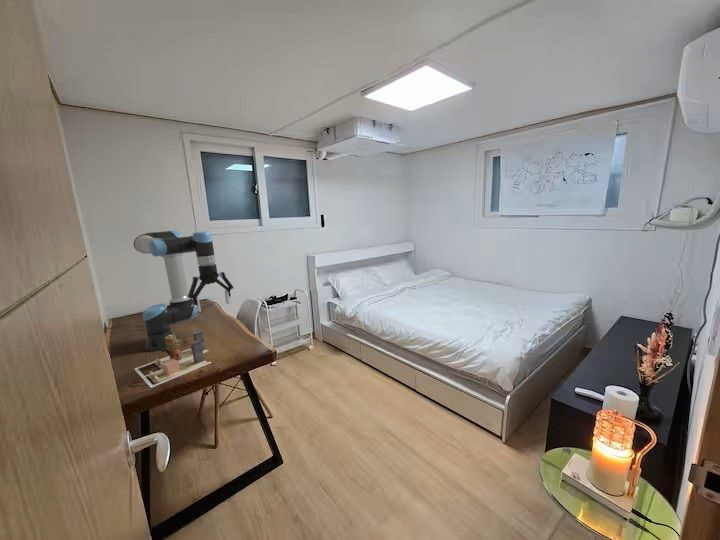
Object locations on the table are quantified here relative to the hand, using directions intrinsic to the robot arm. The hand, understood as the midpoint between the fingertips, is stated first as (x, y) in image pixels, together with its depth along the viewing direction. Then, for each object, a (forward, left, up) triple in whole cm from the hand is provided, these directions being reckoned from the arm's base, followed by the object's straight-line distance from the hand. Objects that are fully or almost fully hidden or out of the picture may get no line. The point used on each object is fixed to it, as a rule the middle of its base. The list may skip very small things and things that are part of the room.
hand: (214, 307), depth 141 cm
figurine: (-18, -17, -27) cm, 37 cm away
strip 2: (-6, -18, -27) cm, 33 cm away
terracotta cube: (-6, -21, -26) cm, 34 cm away
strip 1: (-18, -12, -27) cm, 35 cm away
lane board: (-12, -18, -27) cm, 35 cm away
